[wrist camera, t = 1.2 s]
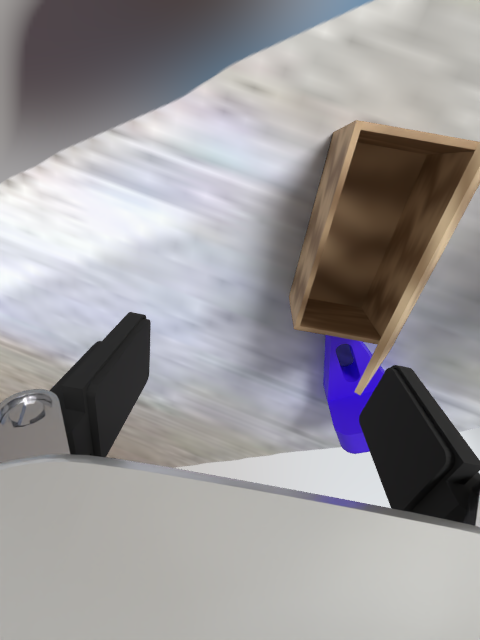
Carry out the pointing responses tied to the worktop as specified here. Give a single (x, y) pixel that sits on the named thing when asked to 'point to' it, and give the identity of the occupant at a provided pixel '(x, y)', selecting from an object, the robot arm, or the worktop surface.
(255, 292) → the worktop surface
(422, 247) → the open wooden box
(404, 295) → the lid flap
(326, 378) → the bracket
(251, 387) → the worktop surface
